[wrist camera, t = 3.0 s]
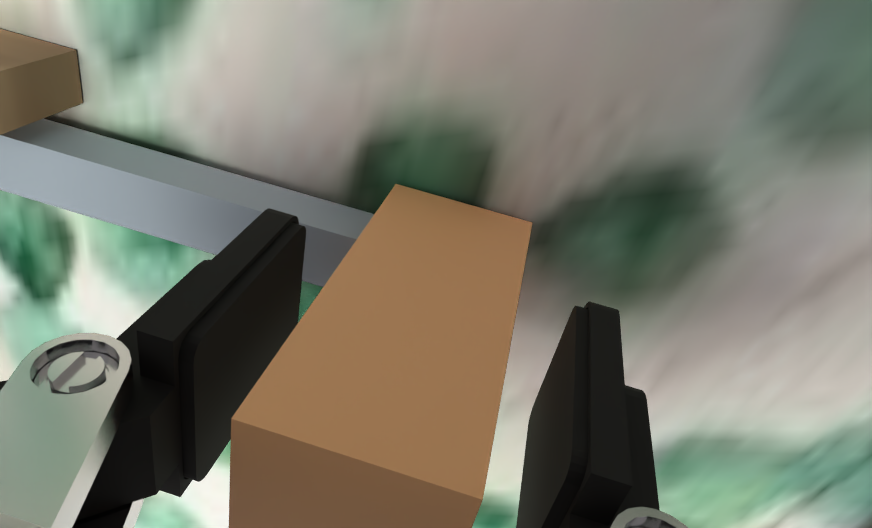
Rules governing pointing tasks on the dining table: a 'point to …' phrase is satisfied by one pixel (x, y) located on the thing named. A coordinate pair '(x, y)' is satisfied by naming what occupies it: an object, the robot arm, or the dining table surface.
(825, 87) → the dining table surface
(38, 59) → the shelf lane
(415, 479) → the pull rod
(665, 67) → the dining table surface
